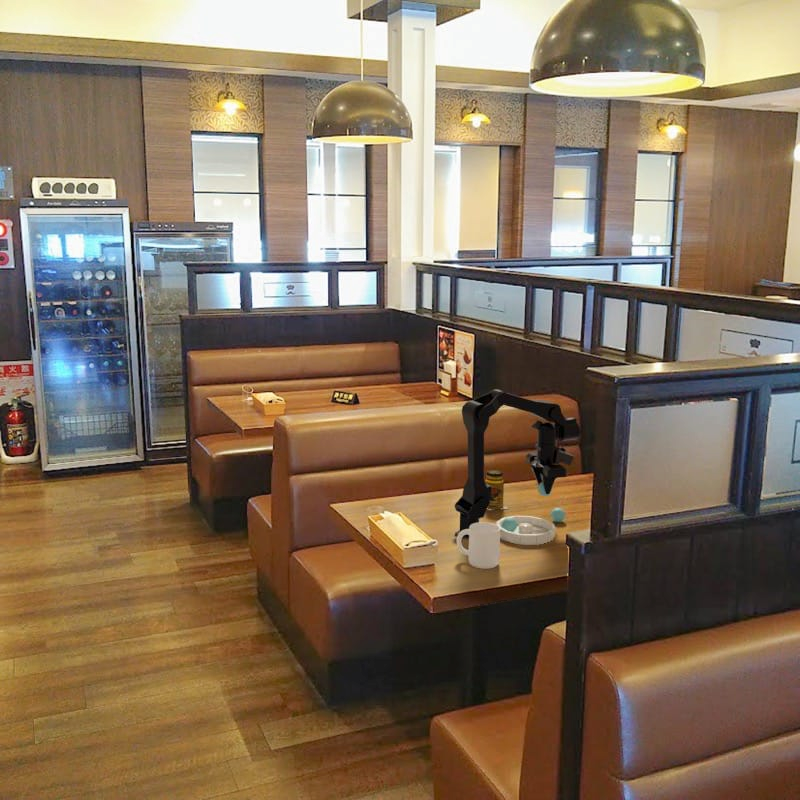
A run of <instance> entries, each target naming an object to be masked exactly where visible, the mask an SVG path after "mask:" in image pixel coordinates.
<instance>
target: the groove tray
mask: <svg viewBox="0 0 800 800" xmlns="http://www.w3.org/2000/svg"><path fill="white" fill-rule="evenodd" d="M508 517H511V518H513V519H515V520H516V522H517V528H516V529H515V531H513V532H510V531H507V530H505V529H504V528H503V527H502V522H503V520H504V519H505V518H508ZM495 524H496V525H498V526H499V527H500V540H502V541H504V542H506V543H509V542H510V544H513V543H514V544H515V545H520V546H521V545H522V546H539V545H540V544H541V545H545V544H544V543H546V544H548V543H547V542H549V543H551V542H552V541H554V539H555V536H556V530H557V529H556V527H555V524H554V523H553V522H552V521H549V520H548V519H545V518H542V517H537V516H531V515H510V516H505V517H502V518H500V519H498V520H497V521H496V522H495ZM551 540H552V541H551ZM550 541H551V542H550ZM514 544H513V545H514Z"/></svg>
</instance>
